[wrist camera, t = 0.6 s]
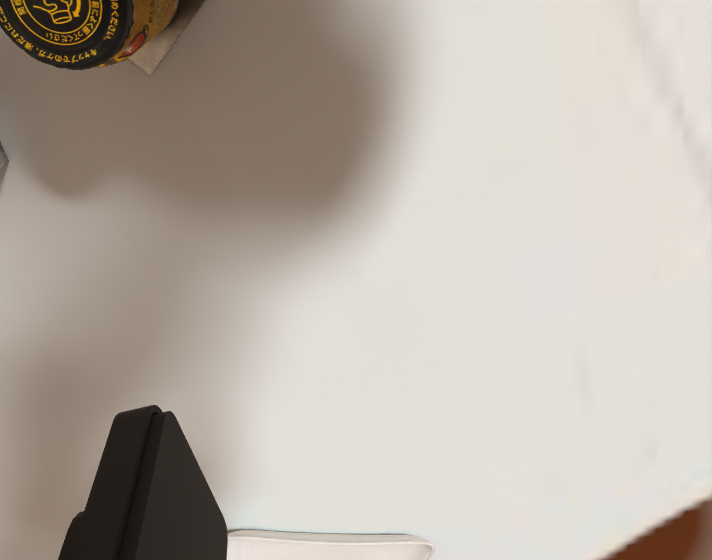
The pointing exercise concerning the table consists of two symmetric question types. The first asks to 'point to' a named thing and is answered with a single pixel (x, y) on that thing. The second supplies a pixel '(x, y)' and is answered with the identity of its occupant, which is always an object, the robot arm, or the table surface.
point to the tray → (2, 157)
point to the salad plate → (325, 546)
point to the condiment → (96, 30)
